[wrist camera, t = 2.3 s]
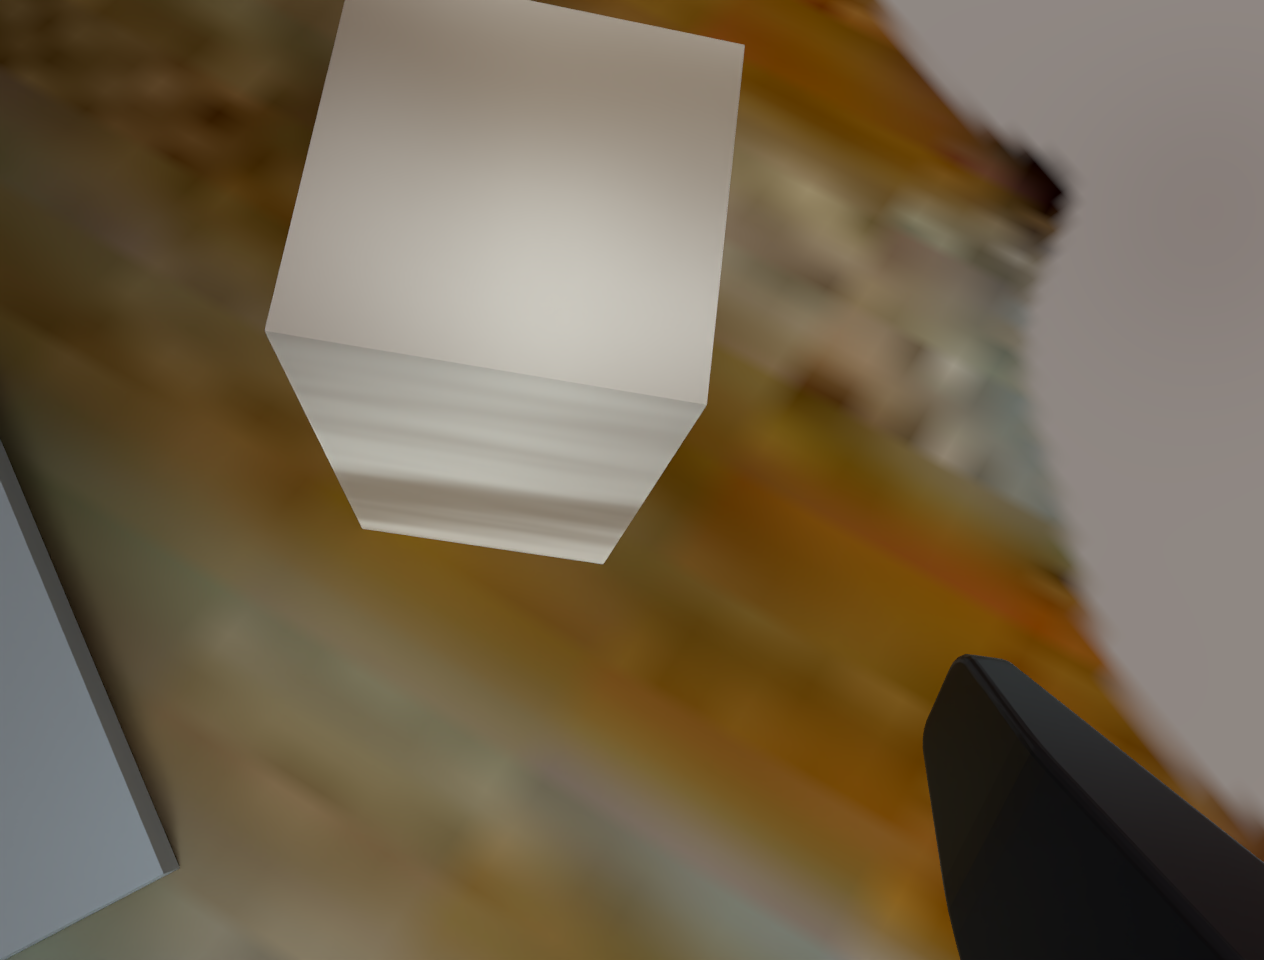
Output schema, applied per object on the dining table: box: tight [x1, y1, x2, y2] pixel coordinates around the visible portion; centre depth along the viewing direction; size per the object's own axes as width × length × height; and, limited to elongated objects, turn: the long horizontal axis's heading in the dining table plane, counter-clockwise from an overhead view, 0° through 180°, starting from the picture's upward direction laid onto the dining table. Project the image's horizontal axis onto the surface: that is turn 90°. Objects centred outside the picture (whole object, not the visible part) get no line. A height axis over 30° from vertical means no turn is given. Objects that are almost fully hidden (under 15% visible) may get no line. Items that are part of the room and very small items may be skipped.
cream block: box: [265, 0, 745, 564], centre depth 17 cm, size 5×5×10 cm
